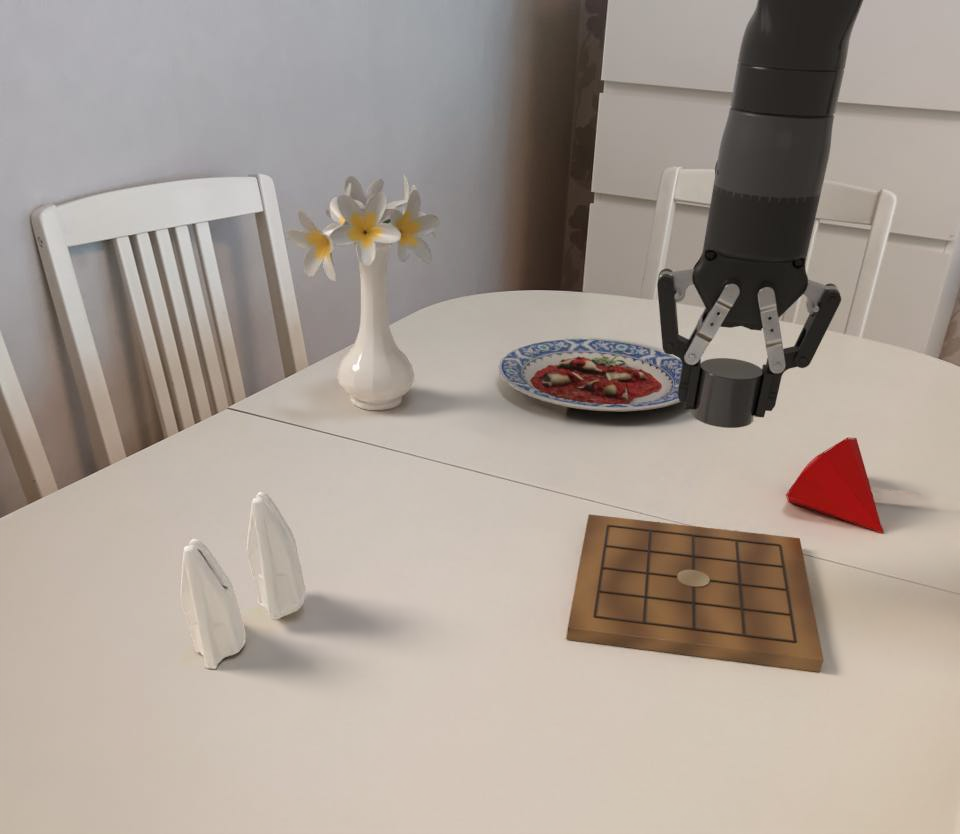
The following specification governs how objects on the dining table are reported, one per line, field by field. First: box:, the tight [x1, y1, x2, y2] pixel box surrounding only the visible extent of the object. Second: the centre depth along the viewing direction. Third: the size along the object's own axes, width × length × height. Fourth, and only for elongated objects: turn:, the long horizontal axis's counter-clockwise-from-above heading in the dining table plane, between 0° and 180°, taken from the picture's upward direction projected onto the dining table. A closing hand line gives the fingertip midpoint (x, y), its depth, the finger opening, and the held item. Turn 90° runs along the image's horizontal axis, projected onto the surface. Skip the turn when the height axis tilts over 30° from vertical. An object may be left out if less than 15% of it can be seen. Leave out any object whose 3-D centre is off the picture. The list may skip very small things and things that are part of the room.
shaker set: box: [179, 491, 307, 670], centre depth 75 cm, size 12×4×11 cm, turn 143°
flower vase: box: [285, 173, 441, 411], centre depth 111 cm, size 13×18×25 cm
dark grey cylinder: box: [691, 357, 763, 429], centre depth 78 cm, size 5×5×4 cm
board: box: [566, 513, 824, 673], centre depth 85 cm, size 20×20×1 cm
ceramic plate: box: [498, 338, 682, 413], centre depth 125 cm, size 26×26×3 cm
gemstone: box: [785, 437, 885, 534], centre depth 97 cm, size 9×9×10 cm
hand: (724, 409), depth 79 cm, fingers closed on dark grey cylinder, 5 cm apart
